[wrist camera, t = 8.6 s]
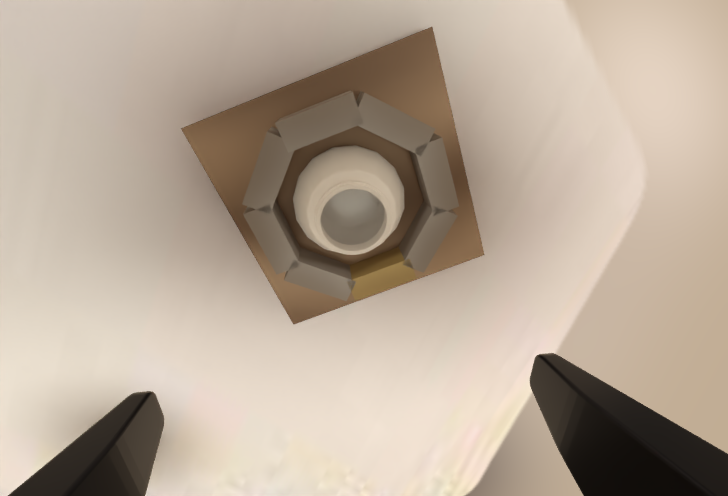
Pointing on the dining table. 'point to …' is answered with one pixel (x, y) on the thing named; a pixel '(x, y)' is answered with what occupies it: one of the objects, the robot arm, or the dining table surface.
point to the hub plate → (336, 129)
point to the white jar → (348, 200)
